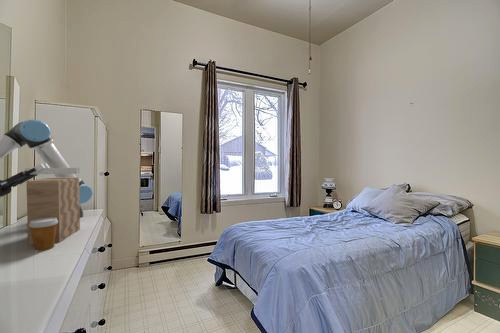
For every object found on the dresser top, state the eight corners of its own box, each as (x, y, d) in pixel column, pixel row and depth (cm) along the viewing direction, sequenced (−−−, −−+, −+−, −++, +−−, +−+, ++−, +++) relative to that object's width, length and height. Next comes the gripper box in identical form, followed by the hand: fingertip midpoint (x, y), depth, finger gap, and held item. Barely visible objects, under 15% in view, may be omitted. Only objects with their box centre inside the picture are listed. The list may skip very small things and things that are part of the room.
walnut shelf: (53, 231, 130) (52, 177, 129) (80, 229, 133) (79, 177, 132) (27, 244, 108) (26, 180, 108) (59, 242, 111) (58, 180, 111)
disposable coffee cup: (64, 245, 107) (63, 218, 107) (39, 253, 98) (38, 223, 98) (49, 243, 110) (48, 216, 110) (23, 250, 101) (23, 221, 101)
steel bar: (29, 174, 124) (29, 168, 124) (79, 173, 129) (79, 167, 129) (24, 174, 120) (24, 168, 120) (76, 173, 126) (76, 167, 126)
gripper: (13, 194, 128) (58, 171, 132) (-12, 199, 112) (40, 172, 116) (3, 182, 127) (49, 159, 131) (-23, 185, 110) (30, 159, 115)
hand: (45, 165), depth 124 cm, fingers closed on steel bar, 3 cm apart
